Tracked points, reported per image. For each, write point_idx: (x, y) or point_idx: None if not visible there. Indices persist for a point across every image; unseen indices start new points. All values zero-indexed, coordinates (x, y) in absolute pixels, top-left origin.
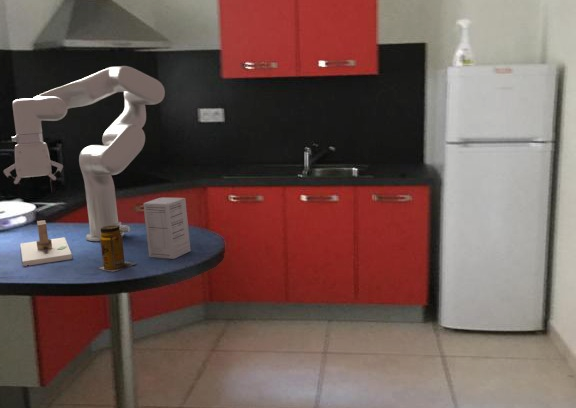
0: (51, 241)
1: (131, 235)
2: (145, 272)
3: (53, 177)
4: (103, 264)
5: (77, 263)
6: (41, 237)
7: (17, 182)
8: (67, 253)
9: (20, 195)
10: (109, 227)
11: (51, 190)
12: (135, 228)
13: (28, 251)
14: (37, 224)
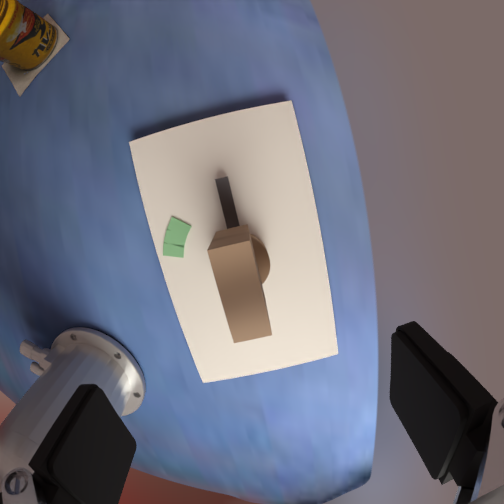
0: (236, 348)
1: None
2: None
3: (22, 496)
4: (52, 30)
5: (115, 88)
6: (240, 230)
7: (496, 426)
8: (143, 154)
9: (405, 326)
10: None
11: (127, 441)
12: None
13: (297, 237)
14: (266, 309)
